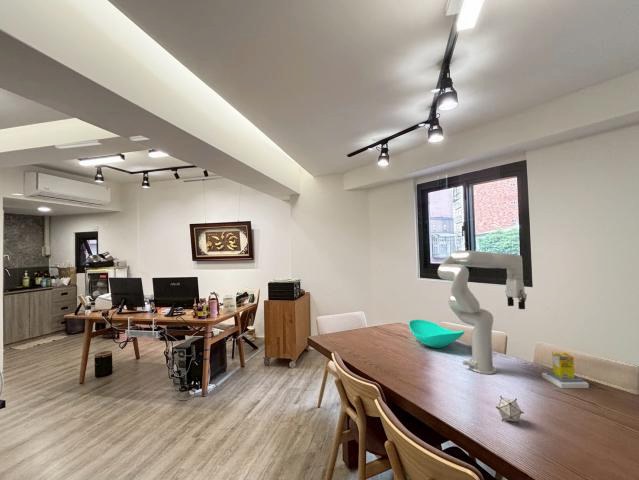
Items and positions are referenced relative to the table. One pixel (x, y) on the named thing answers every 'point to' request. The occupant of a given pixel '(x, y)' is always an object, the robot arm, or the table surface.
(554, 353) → the supplement box
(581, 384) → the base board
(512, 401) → the grey icosahedron
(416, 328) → the table top decor
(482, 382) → the table surface
